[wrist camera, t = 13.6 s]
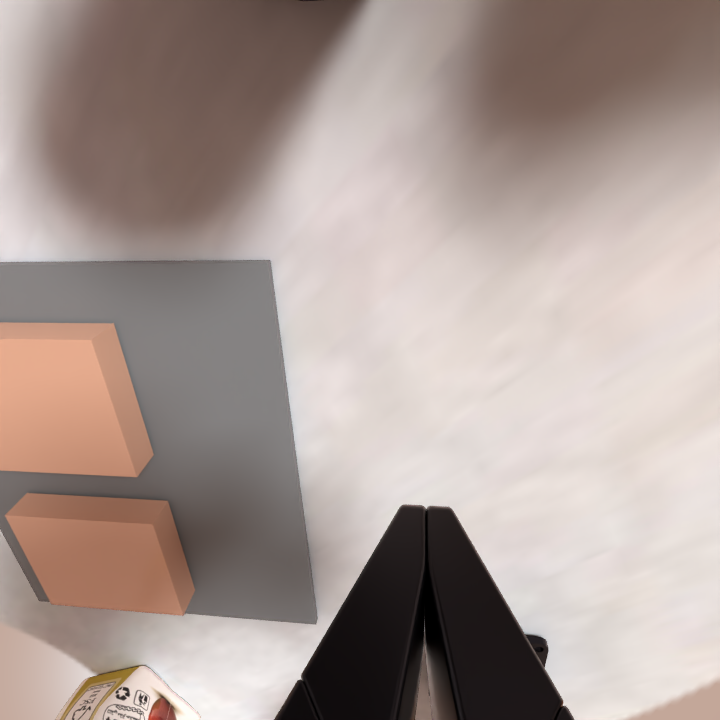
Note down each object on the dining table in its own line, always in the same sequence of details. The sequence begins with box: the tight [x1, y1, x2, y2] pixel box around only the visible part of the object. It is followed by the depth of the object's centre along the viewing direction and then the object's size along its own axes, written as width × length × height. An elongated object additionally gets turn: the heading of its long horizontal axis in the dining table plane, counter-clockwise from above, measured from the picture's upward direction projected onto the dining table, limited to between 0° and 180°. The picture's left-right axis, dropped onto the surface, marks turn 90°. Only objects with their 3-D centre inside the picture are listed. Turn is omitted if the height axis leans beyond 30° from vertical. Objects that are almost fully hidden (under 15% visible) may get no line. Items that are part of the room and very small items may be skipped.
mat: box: [0, 260, 317, 624], centre depth 25 cm, size 22×18×1 cm
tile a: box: [5, 493, 195, 616], centre depth 27 cm, size 7×2×8 cm
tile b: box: [0, 322, 154, 477], centre depth 22 cm, size 7×2×8 cm
